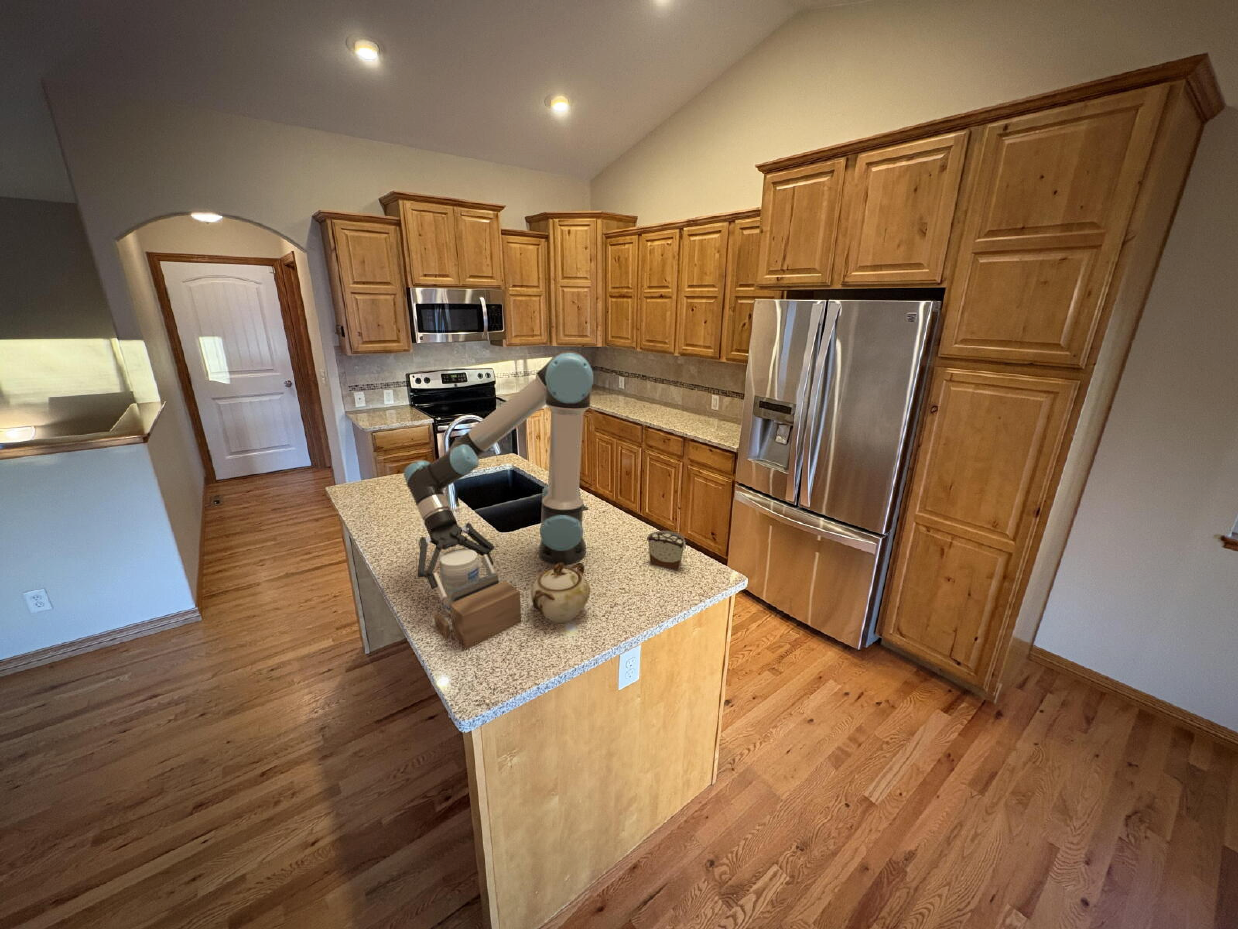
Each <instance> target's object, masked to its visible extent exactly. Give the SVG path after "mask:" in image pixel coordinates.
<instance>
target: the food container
mask: <svg viewBox="0 0 1238 929" xmlns="http://www.w3.org/2000/svg"><path fill="white" fill-rule="evenodd" d="M647 541H648V555H649V566H651V567H652V566H653V567H656V568H659V569H660V568H661V569H665V570H668V571H672V572H677V573H679V572H680V571H681V569H680V568H681V563H682V558H683V552H684V550H686V548H687V546H686V540H685V538H684V537H683V536H682V534H679V533H677V532H675V531H669V530H657V531H653V532H650V533H649V534H648V536H647V537H646V542H647Z"/></svg>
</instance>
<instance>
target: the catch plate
mask: <svg viewBox="0 0 1238 929" xmlns="http://www.w3.org/2000/svg"><path fill="white" fill-rule="evenodd" d="M498 583H500V581H499V574H498V573H497V572H495V573H492V574H490V575H488V574H487V575H486V576H482V577H480V579H477V580H475V581H472V582H470V583H467V584H465V585H462V586H460V587H457V588H455V589H452V590H450V591H451V600H452V603H453V602H455V601H457V600H460V599H462V598H464V597H467V596H469V595H472V594H474V593H476V592H479V591H481V590H484V589H486V588H488V587H491V586H493V585H496V584H498Z"/></svg>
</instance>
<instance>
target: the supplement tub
mask: <svg viewBox="0 0 1238 929" xmlns="http://www.w3.org/2000/svg"><path fill="white" fill-rule="evenodd" d="M479 564H480V563H479V558H478V553H476V552H475V551H474V550H471V549H468V548H456V549H452V550H449V551H447V552H445V553H443V554H442V555H441V556H440V557H439V573H440V581H441V584H442V586H443V588H444V591H445V593H446V595H447V597H446V598H445V599H444V600H442V601H443V608H444V611H445V612H446V613H448V614H449V615H451V614H450V605H449V604H450V603H452V600H451V591H450V590H452V589H455V588H457V587H460V586H462V585H465V584H467V583H470V582H472V581H475V580H477V579H480V578H481V577H480V576H481V575H480V565H479Z"/></svg>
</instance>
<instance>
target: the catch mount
mask: <svg viewBox="0 0 1238 929" xmlns="http://www.w3.org/2000/svg"><path fill="white" fill-rule="evenodd" d="M449 605H450V614H449V615H450V620H451V622H450V623H449V622H448V621H447V620H446V619H445V618H444V617H443V616H442V615H441V614H440V613H439V612H437V613H434V614H433V617H434V624H435V625H434V626H435V628H436V629H437V630H438V631H439V632H440V633H441V634H442V635H443V636H444V637H445V638H446V639H449V638H451V637H452V636H453V638H454V639H455V640H456V641H457V642H458V643H459V644H460V645H461V646H462V647H463V648H464V649H465V650H468V649H470V648H473V647H474V646H476V645H478V644H481V643H483V642H485V641H487V640H489V639H491V638H492V637H495V636H497V635H499V634H501V633H503V632H505V631H507V630H509V629H511V628H512V627H515V626H517V625H519V624H521V623H522V611H521V610H522V609H521V608H522V607H521V592H520V590H519V589H517V588H516V587H515V586H513V585H512V584H511V583H510V582H508V581H507V580H503V581H501V582H500V581H499V583H498V584H496V585H493V586H491V587H488V588H486V589H484V590H481V591H479V592H476V593H474V594H472V595H469V596H467V597H464V598H462V599H460V600H457V601H455V602H453V603H450V604H449ZM450 624H451V627H450ZM451 630H452V635H451Z"/></svg>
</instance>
